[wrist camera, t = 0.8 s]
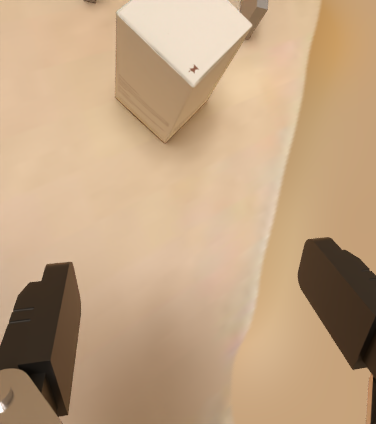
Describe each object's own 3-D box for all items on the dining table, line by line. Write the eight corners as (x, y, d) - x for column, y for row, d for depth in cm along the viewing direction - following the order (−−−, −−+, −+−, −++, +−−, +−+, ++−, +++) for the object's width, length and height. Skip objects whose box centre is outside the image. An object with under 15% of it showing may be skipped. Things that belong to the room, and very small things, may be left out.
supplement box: (209, 100, 37) (257, 26, 25) (164, 145, 35) (192, 89, 23) (160, 51, 37) (185, -49, 24) (111, 95, 35) (113, 10, 23)
